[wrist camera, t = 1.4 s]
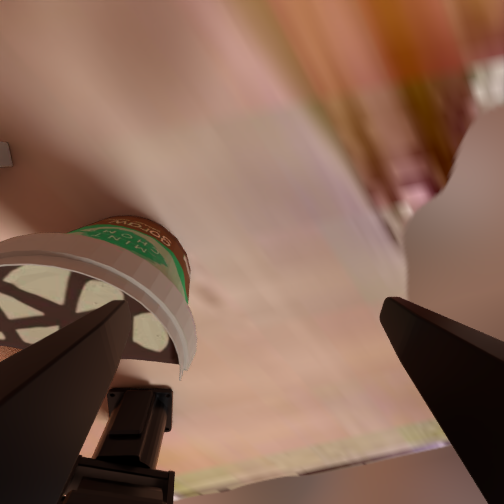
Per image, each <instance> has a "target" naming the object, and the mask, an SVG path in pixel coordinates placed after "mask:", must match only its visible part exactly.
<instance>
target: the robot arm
mask: <svg viewBox="0 0 504 504" xmlns="http://www.w3.org/2000/svg"><path fill="white" fill-rule="evenodd" d="M380 322H381V324H382V326H383V328H384V330H385V332H386V334H387V336H388V338H389V340H390V342H391V344H392V346H393V348H394V350H395V352H396V354H397V356H398V358H399V360H400V362H401V363H402V365H403V367H404V368H405V370H406V372H407V373H408V375H409V377H410V378H411V380H412V381H413V383H414V385H415V386H416V388H417V389H418V391H419V393H420V394H421V396H422V398H423V399H424V401H425V402H426V404H427V406H428V407H429V409H430V411H431V412H432V414H433V415H434V417H435V419H436V420H437V422H438V423H439V425H440V427H441V428H442V430H443V432H444V433H445V435H446V436H447V438H448V440H449V441H450V443H451V444H452V446H453V448H454V449H455V451H456V453H457V454H458V456H459V457H460V459H461V460H462V462H463V464H464V465H465V467H466V469H467V470H468V472H469V474H470V475H471V477H472V478H473V480H474V482H475V483H476V485H477V487H478V488H479V490H480V491H481V493H482V495H483V496H484V498H485V499H486V501H487V503H488V504H504V342H503V341H501V340H498V339H496V338H494V337H492V336H489V335H487V334H484V333H482V332H480V331H477V330H475V329H473V328H470V327H468V326H465V325H463V324H461V323H459V322H456V321H454V320H452V319H449V318H447V317H444V316H442V315H440V314H438V313H435V312H433V311H430V310H428V309H426V308H423V307H421V306H419V305H416V304H414V303H412V302H410V301H407V300H405V299H402V298H400V297H387V298H386V299H385V300H384V303H383V306H382V310H381V313H380ZM130 328H131V315H130V310H129V305H128V302H127V301H126V300H112V301H110V302H108V303H107V304H105V305H103V306H101V307H99V308H98V309H96V310H94V311H92V312H90V313H88V314H87V315H85V316H83V317H81V318H79V319H78V320H76V321H74V322H72V323H70V324H68V325H67V326H65V327H63V328H61V329H59V330H58V331H56V332H54V333H52V334H50V335H48V336H47V337H45V338H43V339H41V340H39V341H38V342H36V343H34V344H32V345H30V346H28V347H27V348H25V349H23V350H21V351H19V352H17V353H16V354H14V355H12V356H10V357H8V358H7V359H5V360H3V361H1V362H0V504H173V495H174V478H175V471H168V472H167V471H161V470H156V465H157V461H158V457H159V452H160V448H161V443H162V439H163V434H164V432H169V431H171V428H172V411H173V391H172V390H170V389H130V388H112V389H110V390H109V392H108V394H107V398H108V407H109V416H110V418H109V420H108V422H107V424H106V427H105V429H104V431H103V433H102V436H101V438H100V440H99V443H98V445H97V447H96V449H95V452H94V454H93V456H92V458H86V457H82V455H79V453H80V451H81V448H82V446H83V444H84V442H85V440H86V437H87V435H88V433H89V431H90V429H91V426H92V424H93V422H94V420H95V418H96V415H97V413H98V411H99V409H100V406H101V404H102V402H103V400H104V398H105V395H106V393H107V391H108V389H109V387H110V384H111V382H112V380H113V378H114V375H115V373H116V371H117V368H118V365H119V362H120V359H121V356H122V353H123V350H124V347H125V344H126V341H127V337H128V334H129V331H130ZM64 495H66V496H64Z"/></svg>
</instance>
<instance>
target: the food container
mask: <svg viewBox="0 0 504 504" xmlns="http://www.w3.org/2000/svg"><path fill="white" fill-rule="evenodd" d="M189 284H190V266H189V262H188V258H187V254H186V252H185V251H184V249H183V247H182V246H181V244H180V243H179V241H178V239H177V238H176V237H174V236H173V235H172V234H171V233H170V232H169V231H167V230H166V229H165V228H164V227H163V226H161V225H159V224H157V223H155V222H153V221H151V220H148V219H145V218H141V217H137V216H129V215H128V216H115V217H109V218H107V219H104V220H101V221H98V222H96V223H93V224H90V225H88V226H85V227H82V228H79V229H77V230H74V231H71V232H69V233H34V234H29V235H23V236H17V237H13V238H10V239H7V240H4V241H2V242H0V346H8V347H14V348H18V349H25V348H27V347H28V346H30V345H32V344H34V343H36V342H38V341H39V340H41V339H43V338H45V337H47V336H48V335H50V334H52V333H54V332H56V331H58V330H59V329H61V328H63V327H65V326H67V325H68V324H70V323H72V322H74V321H76V320H78V319H79V318H81V317H83V316H85V315H87V314H88V313H90V312H92V311H94V310H96V309H98V308H99V307H101V306H103V305H105V304H107V303H108V302H110V301H112V300H126V301H127V302H128V305H129V310H130V315H131V328H130V331H129V334H128V337H127V341H126V344H125V347H124V350H123V353H122V356H121V359H136V360H146V361H156V362H164V363H172V364H179V365H180V377H179V381H181V379H182V375H183V371H184V370H185V371H188V369H189V367H190V365H191V362H192V360H193V358H194V356H195V353H196V347H197V333H196V325H195V322H194V319H193V315H192V312H191V310H190V308H189V306H188V298H189Z"/></svg>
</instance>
